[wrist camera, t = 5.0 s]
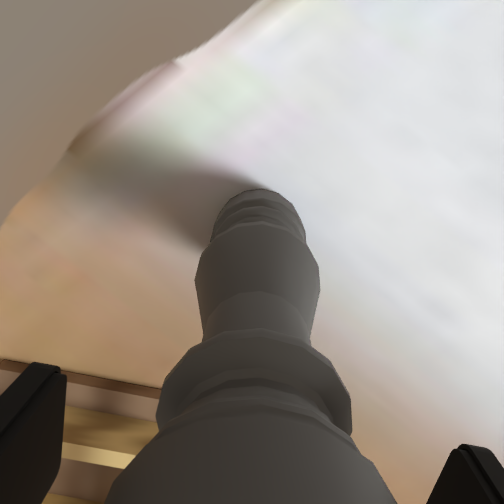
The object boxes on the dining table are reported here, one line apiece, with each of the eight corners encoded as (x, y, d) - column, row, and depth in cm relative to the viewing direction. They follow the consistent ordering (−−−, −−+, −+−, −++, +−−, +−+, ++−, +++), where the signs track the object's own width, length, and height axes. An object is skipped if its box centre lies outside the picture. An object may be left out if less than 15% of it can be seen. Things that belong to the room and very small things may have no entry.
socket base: (196, 396, 33) (186, 439, 28) (169, 531, 38) (157, 586, 33) (4, 359, 32) (-38, 397, 28) (2, 502, 37) (-34, 554, 33)
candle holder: (319, 236, 28) (616, 830, 5) (253, 287, 30) (223, 946, 6) (264, 170, 27) (279, 531, 3) (197, 227, 28) (-130, 773, 5)
